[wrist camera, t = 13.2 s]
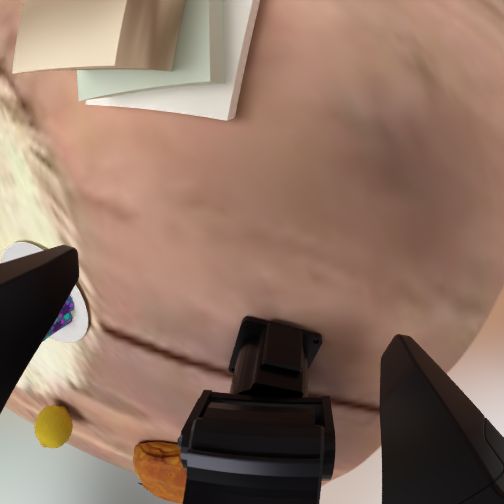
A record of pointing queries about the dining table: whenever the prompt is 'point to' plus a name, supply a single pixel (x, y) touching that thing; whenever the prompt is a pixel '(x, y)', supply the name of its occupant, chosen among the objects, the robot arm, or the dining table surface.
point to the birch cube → (98, 35)
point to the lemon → (53, 426)
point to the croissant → (161, 469)
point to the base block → (205, 96)
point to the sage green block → (185, 62)
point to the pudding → (81, 317)
